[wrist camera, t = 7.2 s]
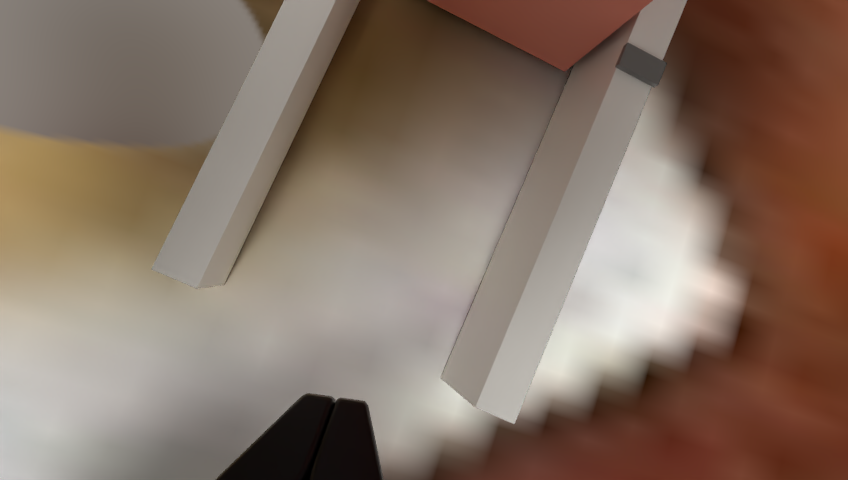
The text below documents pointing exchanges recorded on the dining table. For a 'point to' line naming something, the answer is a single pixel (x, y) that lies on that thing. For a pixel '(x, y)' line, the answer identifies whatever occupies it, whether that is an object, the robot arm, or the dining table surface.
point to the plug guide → (528, 222)
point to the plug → (548, 23)
